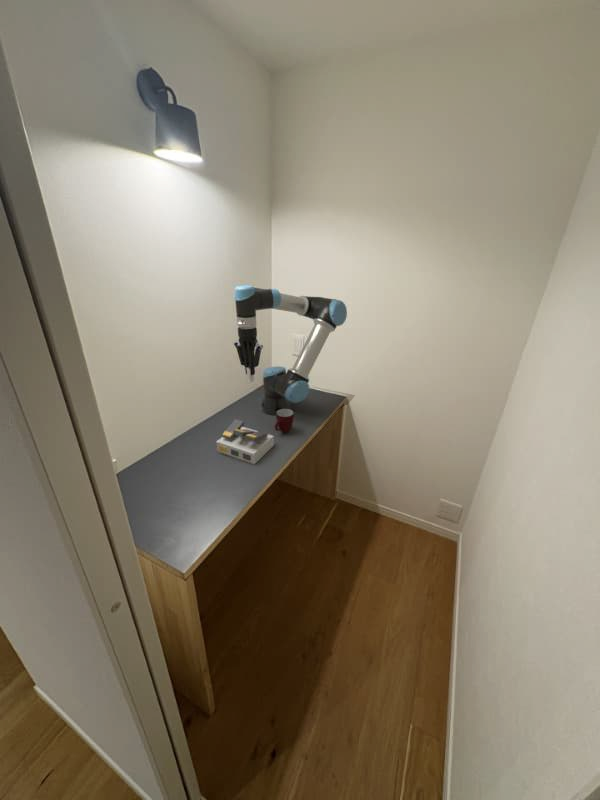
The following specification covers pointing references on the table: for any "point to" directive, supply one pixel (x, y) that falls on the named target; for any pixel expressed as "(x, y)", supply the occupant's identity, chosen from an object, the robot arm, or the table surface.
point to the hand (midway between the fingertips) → (250, 381)
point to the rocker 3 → (256, 436)
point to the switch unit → (245, 447)
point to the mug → (284, 420)
